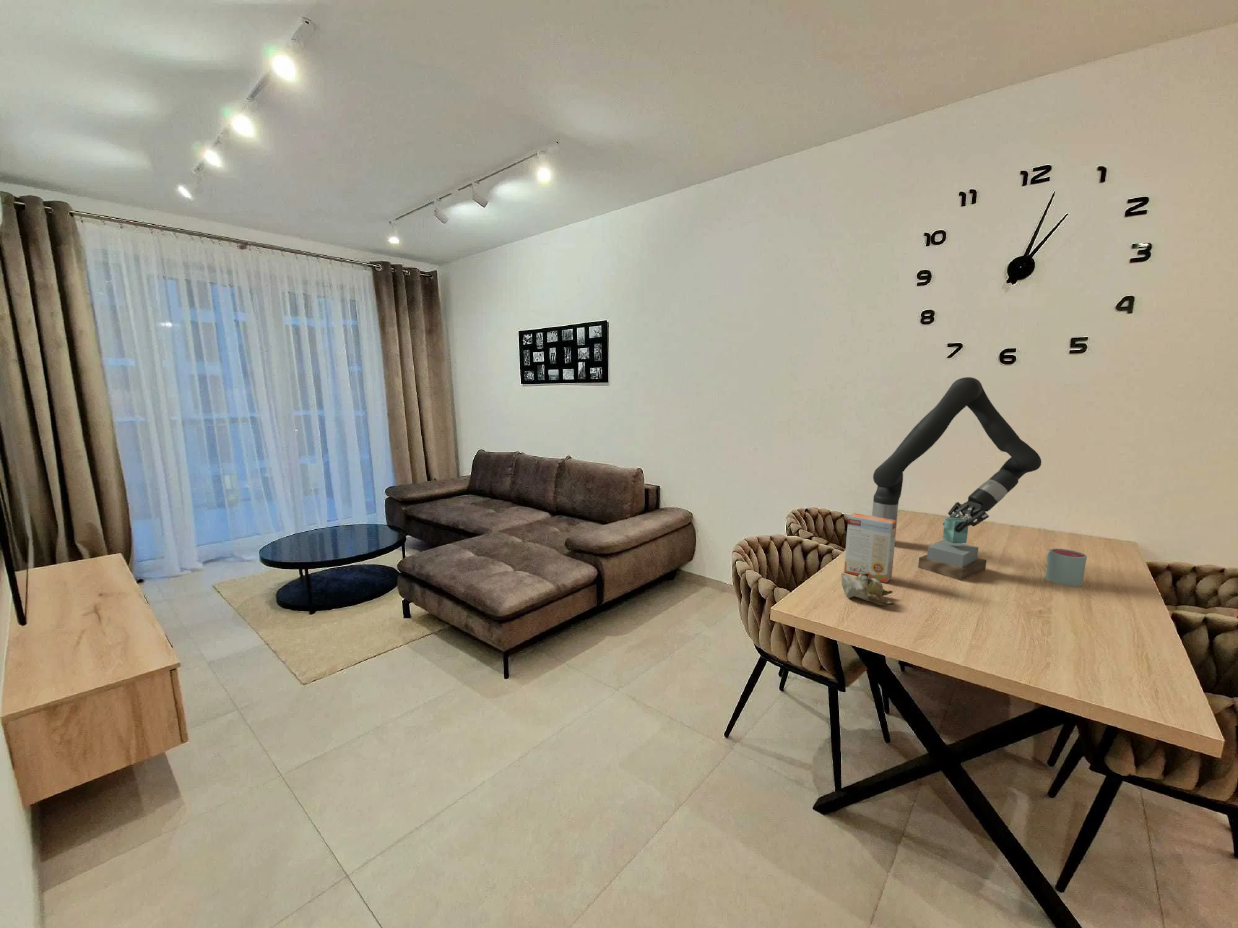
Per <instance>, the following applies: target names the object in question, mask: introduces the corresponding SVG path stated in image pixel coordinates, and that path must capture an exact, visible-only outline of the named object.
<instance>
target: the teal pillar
mask: <svg viewBox="0 0 1238 928" xmlns="http://www.w3.org/2000/svg"><path fill="white" fill-rule="evenodd" d="M963 519H964V518H959V517H957V516H956V517H952V518H949V517H944V522H945V523H944V522H943V523H944V525H943V534H942V540H946V541H948V542H951V543H962V544H967V540H968V531H969V526H967V527H966V528H964V529H963V530H962V531H961V532H959V533H958V532H956V531H955V530H954V528H955V527H956V526H957V525H958V524H959V523H960V522H961V521H962V522H963Z"/></svg>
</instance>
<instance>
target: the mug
mask: <svg viewBox="0 0 1238 928" xmlns="http://www.w3.org/2000/svg"><path fill="white" fill-rule="evenodd" d="M1087 557H1088V556H1087V555H1086V554H1085V553H1082V552H1081V551H1080V552H1079V551H1076V550H1071V549H1065V548H1050V549H1049V551H1048V552H1047V555H1046V564H1047V565H1046V572H1045V580H1047V581H1049V582H1050V583H1054V584H1056V585H1057V584H1058V585H1060V586H1065V587H1075V588H1078V587H1082V586H1083V581H1084V576H1085V570H1086V564H1087V559H1088V558H1087Z"/></svg>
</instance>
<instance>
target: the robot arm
mask: <svg viewBox="0 0 1238 928" xmlns="http://www.w3.org/2000/svg"><path fill="white" fill-rule="evenodd" d="M966 407H967V408H968V409H970V411H971V412H972V413H973V415H974V416H975V417H976V419H977V421H979V423H980V426H981V427H982V428H983V430H984V431H985V433H986V435H987V436H988V438H989V439H990V440H991V441H992V443H993V444H994V445H995V447H996V448H997V449H998V450H999V451H1000V452H1004V453H1007V454H1008V455H1009V456H1010V458H1008V459H1007V460H1006V461H1005V462H1004V464H1002V466H1001V467H1000V469H999V470H998V471H996V472H995V473H994V474H993V475H992V476H991V477H990V478H988V480H986V481H984V482H983V483H982V484H981V485H979V486H978V487H977V488H976V489H975V490H974V491H973V492H972V493H970V494H969V496H968V497H967V501H965V502H964V503H960V502H958V501H957V502H955V503H954V505H953V506H952V507H951V508H950V510H948V511H947V514H948V516H949V517H948V518H952V517H959V518H961V519H963V522H962V521H961V522H960V523H959V524H958V525H957V526H956V527H955V528H954V530H955V531H956V532H958V533H959V532H961V531H962V530H963V529H964V528H966V527H967V526H968V527H970V526H972V527H975V526H977V525H978V524H981V523H982V522H983V521H985V520H986V519H988V518H989V517H990V515H989V514H988V513H987V512H989V511H990V510H992V509H993V508H994V507H995V506H996V505H997V504H998V503H999V502H1000V501H1002V500H1003V498H1004V497H1005V496H1006V495H1008V493H1009V492H1011V491H1012V490H1013V489H1014V488H1015V487H1016V486H1017V485H1018V484H1019V480H1020V479H1021V478H1022V477H1023V476H1025V475H1026V474H1028V473H1030V472H1034V471H1037V470H1038V469H1040V468H1041V466H1042V459H1041V456H1040V455H1039V453H1038V452H1037V451H1036V450H1035V449H1034V448H1032V447H1031V446H1030V445H1029V444H1028V443H1026V441H1023V440H1022V439H1021V438H1020V436H1019V435H1018V434H1017V433H1016V431H1015V430H1014V429H1013V427H1011V425H1010V424H1009V423H1008V422H1007V420H1005V418H1004V417H1003V416H1002V414H1000V412H999V411H998V410H997V409H996V407H995V406H994V404H993V403H992V402H991V400H990V398H989V397H988V395H987V393H986V391H985V389H984V386H983V384H982V383H981V382H980V380H979V379H977V378H976V377H971V376H968V377H967V376H966V377H961V378H958V379H957V380H955V381H953V383H952V384H951V385H950V387H949V388H948V389H947V391H946V392H945V394H944V395H943V397H942V398H941V399H940V400H939V402H938V403H937V404H936V406H934V408H933V409H931V410H930V411H928V413H927V414H926V415H925V416H924V417H923V418H921V420H920V421H919V422H918V423H917V424H915V426H914V427H913V428H912V429H911V431H910V432H909V433H908V434H907V435H906V436H905V438H904V439H903V440H902V442H901V443H900V444H899V445H898V446H897V448H896V449H895V450H894V452H892V454H891V455H890V456H889V457H888V458H887V459H885V460H884V461H883V462H882V463H881V464H880V465H879V466H878V467H877V468H875V470H874V472H873V475H872V478H873V482H874V484H875V485H876V486H877V487H876V491H875V492H874V495H873V502H872V511H871V512H872V513H871V516H874V517H880V518H885V519H891V520H897V521H898V513H899V511H898V510H899V504H900V503H899V501H900V499H901V495H902V488H903V481H904V472H905V470H906V469H907V468H908V467H909V466H910V465H911V464H912V463H913V462H915V461H917V459H919V458H920V457H921V456H922V455H924V454H925V453H926V452H927V451H929V450H930V449H931V448H932V447H933V446H934V445H935V444H936V443H937V441H938V440H939V439H940V438H941V437H942V436H943V435H944V433H945V432H946V430H947V428H949V426H950V424H951V423H952V421H953V420H954V418H955V417H956V416H957V415H959V414H960V413H961V411H962V410H964V409H965V408H966ZM957 515H958V516H957ZM944 523H945V521H944V522H943V523H942V526H944Z"/></svg>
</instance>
